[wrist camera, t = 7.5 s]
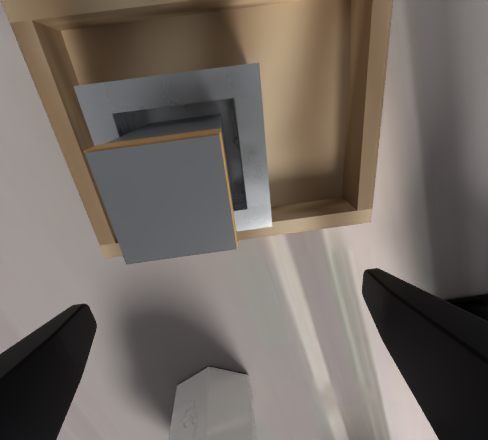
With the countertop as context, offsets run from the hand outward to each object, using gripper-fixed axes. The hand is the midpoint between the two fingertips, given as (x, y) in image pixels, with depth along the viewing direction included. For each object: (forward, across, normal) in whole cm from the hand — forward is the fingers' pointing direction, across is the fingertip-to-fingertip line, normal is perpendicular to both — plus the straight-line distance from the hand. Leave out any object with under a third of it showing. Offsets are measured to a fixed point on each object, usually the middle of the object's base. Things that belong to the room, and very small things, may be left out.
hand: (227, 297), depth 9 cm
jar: (+13, +5, +24) cm, 28 cm away
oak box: (+12, 0, -4) cm, 13 cm away
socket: (+12, +2, -3) cm, 13 cm away
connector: (+9, +2, -3) cm, 10 cm away
